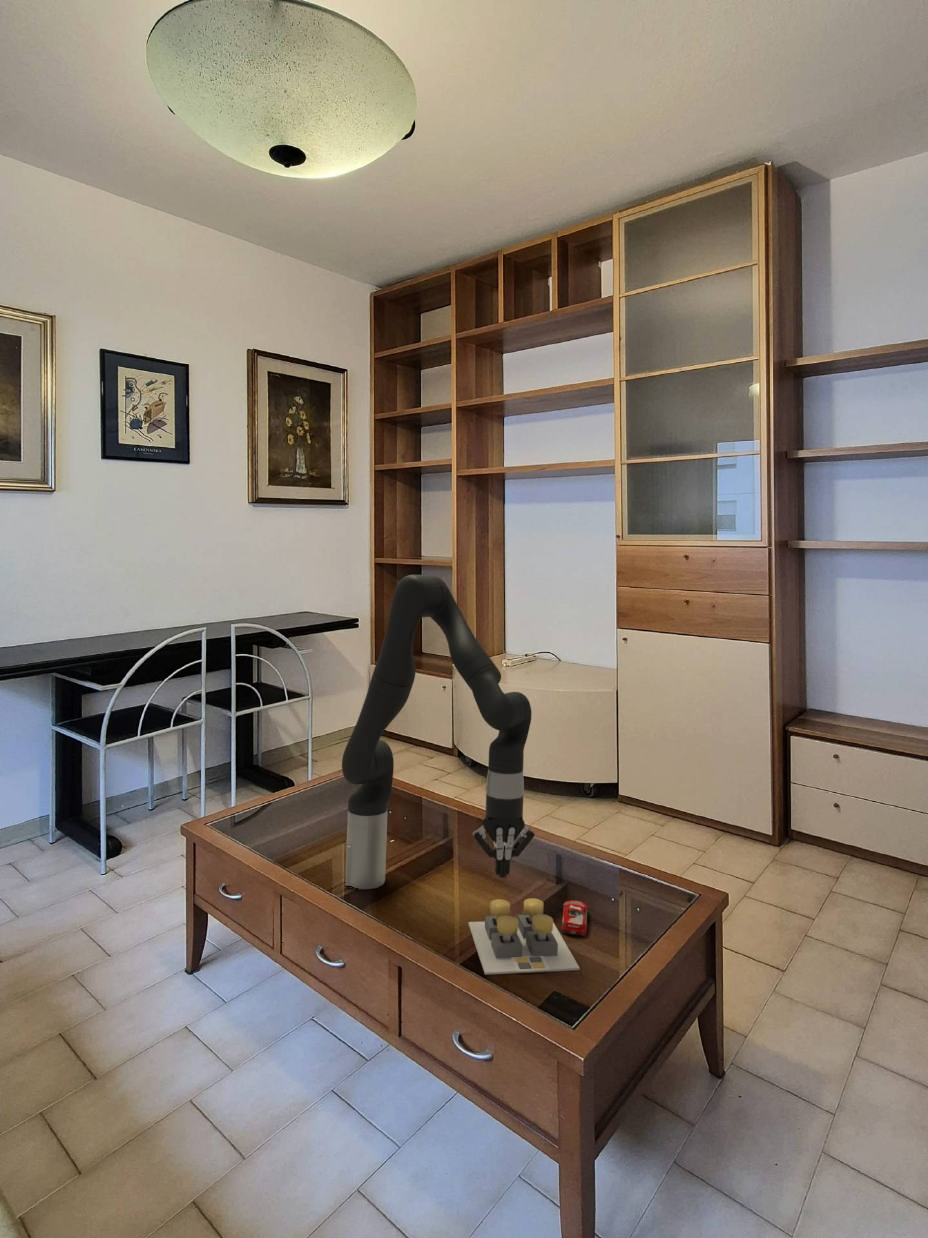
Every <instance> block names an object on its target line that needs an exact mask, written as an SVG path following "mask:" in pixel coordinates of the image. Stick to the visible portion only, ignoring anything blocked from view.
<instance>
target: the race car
mask: <svg viewBox="0 0 928 1238" xmlns="http://www.w3.org/2000/svg"><path fill="white" fill-rule="evenodd" d="M562 907H563V911H562V920H561V932H562V933H563V934H566V935H571V936H572V935H573V936H579V937H581V936H585V935H586V934H587V927H588V925H587V924H588V923H587V921H588V918H587V917H588V910H589V907H588V905H587V904H586V903H584V902H582V901H579V900H566V901H565V902H564V903H563V904H562Z"/></svg>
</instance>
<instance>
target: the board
mask: <svg viewBox="0 0 928 1238" xmlns="http://www.w3.org/2000/svg"><path fill="white" fill-rule="evenodd" d="M508 916H510V914H509V915H508ZM517 920H518V931H517V933H515V934H512V935H511V942H509V943H503V934H502V933H500V932H498V931H497V925H495V921H496V916H493V915H485V916H484V921H468V924H467V925H468V927H469V930H470V934H471V936H472V939H473V942H474V945H475V949H476V951H477V955H478V958H479V961H480V964H481V967H482V970H483V973H484V975H502V974H503V975H504V974H505V975H506V974H507V975H508V974H524V973H525V974H527V973H530V974H531V973H546V972H547V973H550V972H567V971H580V969H581V968H580V966H579V965H578V962H577V961H576V959H575V957H574V956H573V954H572V952H571V951H570V949H569V947H568V945H567V944H566V942H565V940H564V938H563V937H562V935H561V933H560V931H559V930H558V928H557V926H556V924H555V923H554V921H553V930H552V931H551V932H550V933H546V941H538V932H536V931H534V930H533V929H532V924H529V915H527V914H518V916H517Z"/></svg>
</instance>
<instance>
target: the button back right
mask: <svg viewBox="0 0 928 1238" xmlns="http://www.w3.org/2000/svg"><path fill="white" fill-rule="evenodd" d="M523 913H524V914H525V915H529V924H532V918H533V916H535V915H538V914H543V915H544V902H543V901H542V900H541V899H539V898H534V897H532V898H531V897H530V898H527V899H524V901H523Z"/></svg>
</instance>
